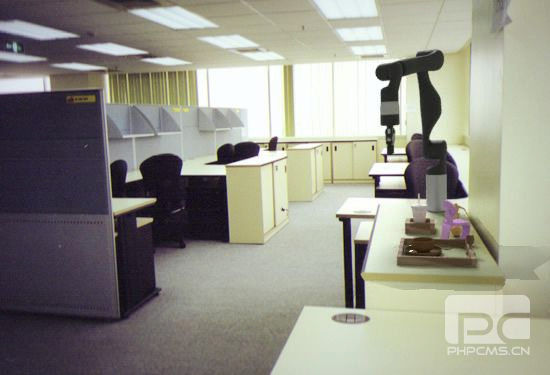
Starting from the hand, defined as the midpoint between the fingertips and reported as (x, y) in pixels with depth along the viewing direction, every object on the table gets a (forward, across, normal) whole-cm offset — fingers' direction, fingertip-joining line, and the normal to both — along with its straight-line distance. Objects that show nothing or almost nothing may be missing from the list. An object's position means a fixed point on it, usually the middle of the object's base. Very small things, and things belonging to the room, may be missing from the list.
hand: (390, 154), depth 201 cm
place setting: (+30, -41, -16) cm, 53 cm away
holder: (+30, -5, -11) cm, 32 cm away
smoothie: (+30, -5, -11) cm, 32 cm away
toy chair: (+30, -22, -23) cm, 44 cm away
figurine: (+30, -12, -24) cm, 40 cm away
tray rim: (+30, -41, -16) cm, 53 cm away
